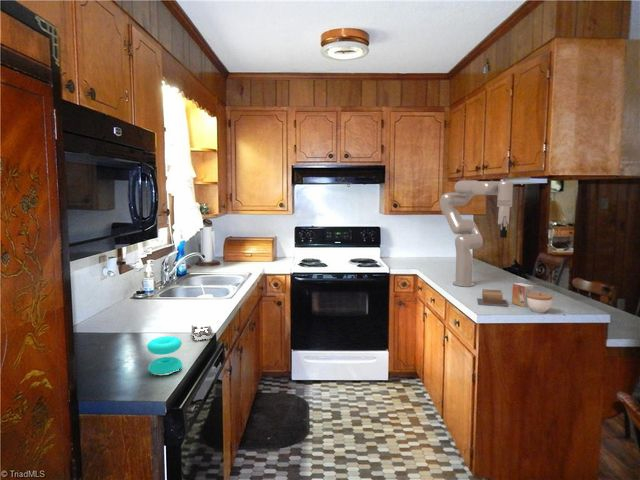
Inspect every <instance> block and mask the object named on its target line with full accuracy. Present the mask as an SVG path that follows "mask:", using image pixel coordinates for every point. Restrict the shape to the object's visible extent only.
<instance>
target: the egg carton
mask: <svg viewBox="0 0 640 480" xmlns="http://www.w3.org/2000/svg"><path fill="white" fill-rule="evenodd" d="M203 328H208V329H207V331H208V333H205V330H204V331H200V332H199V334H200V335H199V334H197V333H194V332H195V329H199V328H198V327H197V326H194V325H193V324H192V325H191V335H192V334H193V335H195V336H197V337H201V336H202V335H206V336H210V335H212V336H213V328H212V326H211V325H209V326H204V327H203V326H201V327H200V329H203ZM196 334H197V335H196Z"/></svg>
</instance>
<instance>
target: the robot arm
mask: <svg viewBox="0 0 640 480" xmlns="http://www.w3.org/2000/svg"><path fill="white" fill-rule="evenodd" d="M453 186H454V187H453V188H454V192H445V193H443V194H442V195H440V199H439V207H440V210H441V212H442V213H443V215H444V216H445V219H446V221H447V223H448V226H449V228H450V230H451V232H452V233H453V234H454V235H457V236H456V237H455V239H454V245H455V254H456V255H455V281H453V282H452V285H453V286H457V287H474V286H475V283H474V282H473V280H472V279H473V254H472V252H471V250H476V249H480V248H481V247H482V246H483V244H484V240H483V239H484V238H483V236H482V234H481V233H480V230H479V228H478V226H477V224H476V222H475V221H474V220H472V219H469V218H462V216H461V214H460V212H459V210H457V209H456V208H455V207H460V206H461V207H463V206H465V205H467V204H468V202H469V201H471V199H472V198H473V197H474V196H476V195H482V196H497V199H496V200H497V201H496V203H497V204H496V206H497V207H498V213H497V214H498V215H497V216H498V217H497V218H498V219H497V224H498V225H500V235H499V236H500V238H505V239H507V236H508V235H507V234H508V231H507V229H508V225H509V224H510V209H511V208H512V207H513V190H514V184H513V182H512V181H509V180H508V181H507V180H504V181H503V180H502V181H491V180H489V181H487V180H486V181H485V180H484V181H483V180H481V181H479V180H476V179H475V180H473V179H471V180H470V179H469V180H468V179H467V180H466V179H463V180H459V181H457V182H456V183H455V184H454V185H453Z"/></svg>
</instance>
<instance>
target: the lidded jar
mask: <svg viewBox="0 0 640 480" xmlns="http://www.w3.org/2000/svg"><path fill="white" fill-rule="evenodd" d="M527 303H528V306H529V307H528V308H529V309H530V310H531V312H533V313H537V314H544V313H547V312H548V311H549V310H550V308H551V307H552V304H553V295H551V294H549V293H542V292H541V291H538V292H533V293H529V294H527Z"/></svg>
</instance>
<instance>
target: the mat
mask: <svg viewBox="0 0 640 480" xmlns="http://www.w3.org/2000/svg"><path fill="white" fill-rule="evenodd" d="M477 305H479V306H488V307H489V306H490V307H491V306H493V307H502V308H503V307H504V308H505V307H507V308H508V307H509V304H508V302H507V300H505V299H503V301H502V304H496V303H483V299H482V298H480V297H479V298H477Z"/></svg>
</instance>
